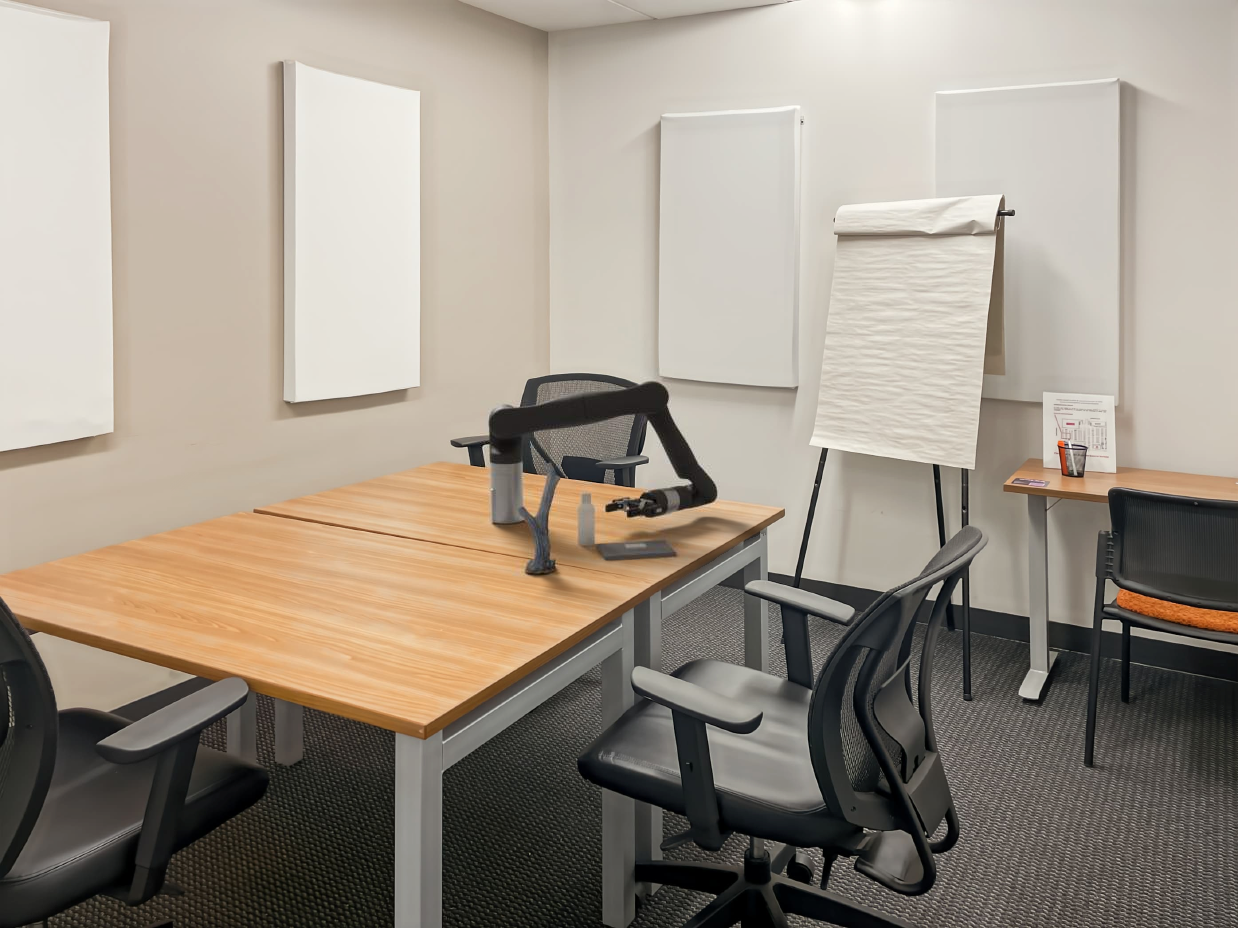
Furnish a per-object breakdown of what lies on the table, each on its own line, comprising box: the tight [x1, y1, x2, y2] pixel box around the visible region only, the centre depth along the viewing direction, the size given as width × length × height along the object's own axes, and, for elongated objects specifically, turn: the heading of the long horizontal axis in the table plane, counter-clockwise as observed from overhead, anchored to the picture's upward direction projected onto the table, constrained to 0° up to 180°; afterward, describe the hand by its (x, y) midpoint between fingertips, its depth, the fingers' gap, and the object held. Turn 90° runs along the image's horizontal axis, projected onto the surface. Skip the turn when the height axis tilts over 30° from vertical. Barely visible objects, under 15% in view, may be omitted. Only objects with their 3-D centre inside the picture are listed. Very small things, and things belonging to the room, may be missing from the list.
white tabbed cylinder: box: [577, 492, 596, 547], centre depth 252 cm, size 4×4×14 cm
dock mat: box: [596, 539, 677, 561], centre depth 245 cm, size 18×12×2 cm, turn 101°
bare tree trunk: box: [518, 462, 561, 574], centre depth 229 cm, size 12×8×25 cm
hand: (616, 511), depth 259 cm, fingers open, 8 cm apart
